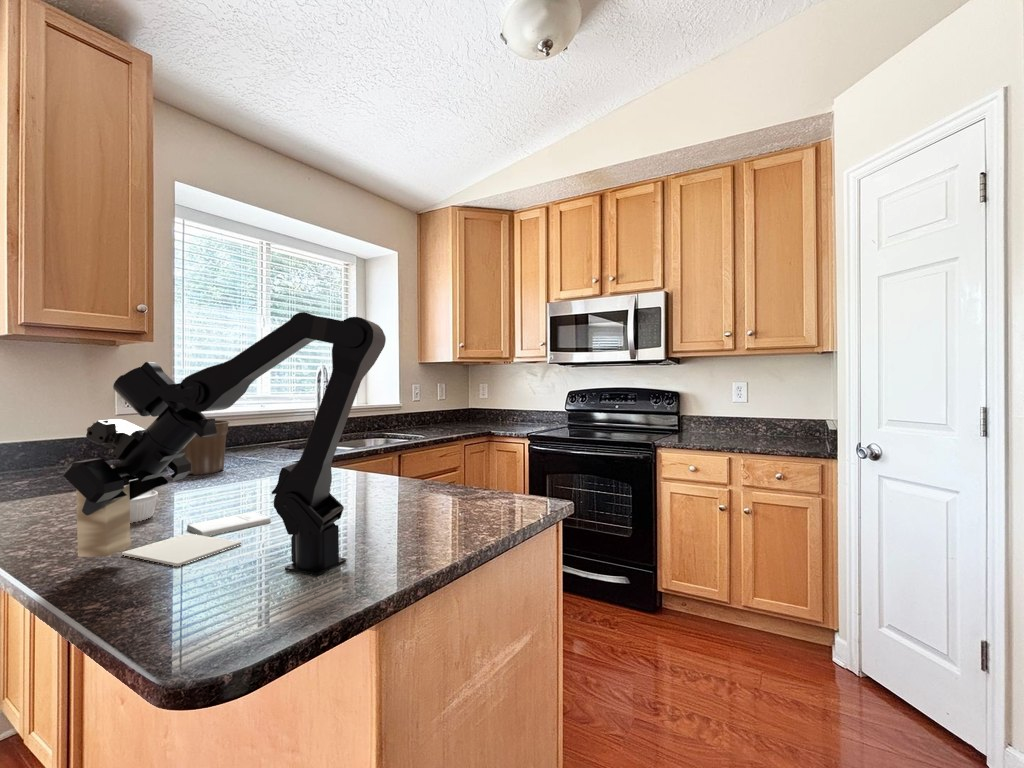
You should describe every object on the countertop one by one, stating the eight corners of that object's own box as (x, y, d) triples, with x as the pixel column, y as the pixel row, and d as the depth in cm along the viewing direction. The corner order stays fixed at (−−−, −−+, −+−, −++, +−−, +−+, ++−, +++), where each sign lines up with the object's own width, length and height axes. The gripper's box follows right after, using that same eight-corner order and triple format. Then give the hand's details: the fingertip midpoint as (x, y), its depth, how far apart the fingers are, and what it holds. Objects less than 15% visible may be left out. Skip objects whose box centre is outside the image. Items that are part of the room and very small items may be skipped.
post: (130, 546, 79) (128, 465, 79) (106, 556, 75) (104, 470, 75) (103, 546, 79) (101, 465, 79) (77, 556, 75) (76, 470, 75)
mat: (241, 545, 87) (241, 541, 87) (177, 567, 76) (177, 563, 76) (187, 536, 92) (187, 533, 92) (122, 555, 82) (121, 552, 82)
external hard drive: (187, 532, 97) (253, 518, 106) (202, 540, 91) (270, 524, 101) (186, 524, 97) (253, 510, 106) (202, 531, 91) (270, 516, 101)
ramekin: (157, 521, 103) (157, 496, 103) (87, 531, 96) (86, 504, 96) (158, 510, 112) (158, 487, 112) (94, 518, 106) (94, 494, 106)
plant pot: (185, 478, 148) (184, 425, 148) (161, 473, 157) (160, 423, 157) (240, 470, 162) (239, 421, 162) (215, 466, 171) (214, 419, 171)
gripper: (172, 399, 86) (112, 463, 86) (75, 404, 67) (-2, 485, 68) (218, 443, 86) (157, 507, 86) (132, 460, 67) (55, 542, 68)
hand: (98, 509), depth 77 cm, fingers closed on post, 4 cm apart
